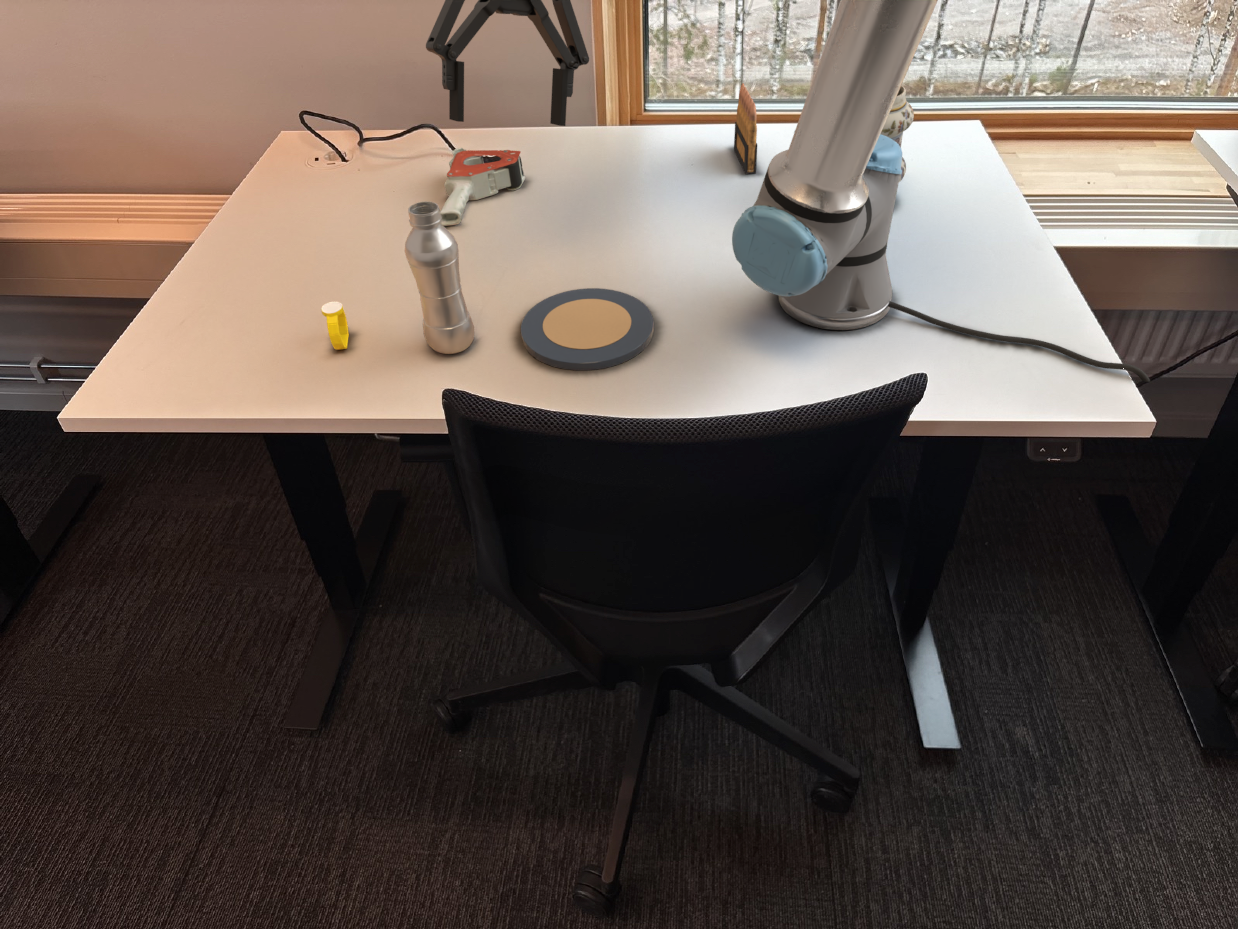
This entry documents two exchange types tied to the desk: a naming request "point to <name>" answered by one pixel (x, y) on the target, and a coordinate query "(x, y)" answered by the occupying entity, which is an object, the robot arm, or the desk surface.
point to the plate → (587, 329)
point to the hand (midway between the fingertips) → (508, 123)
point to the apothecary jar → (899, 122)
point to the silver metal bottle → (438, 280)
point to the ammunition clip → (746, 132)
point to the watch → (336, 324)
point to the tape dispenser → (478, 179)
